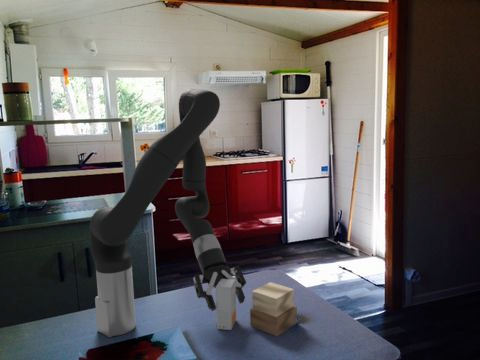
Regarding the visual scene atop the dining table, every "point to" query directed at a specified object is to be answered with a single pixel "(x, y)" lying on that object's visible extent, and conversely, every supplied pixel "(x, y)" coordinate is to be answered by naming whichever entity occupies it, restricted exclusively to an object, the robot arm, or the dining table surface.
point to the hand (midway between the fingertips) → (228, 305)
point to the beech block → (273, 299)
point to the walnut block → (273, 321)
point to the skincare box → (226, 304)
